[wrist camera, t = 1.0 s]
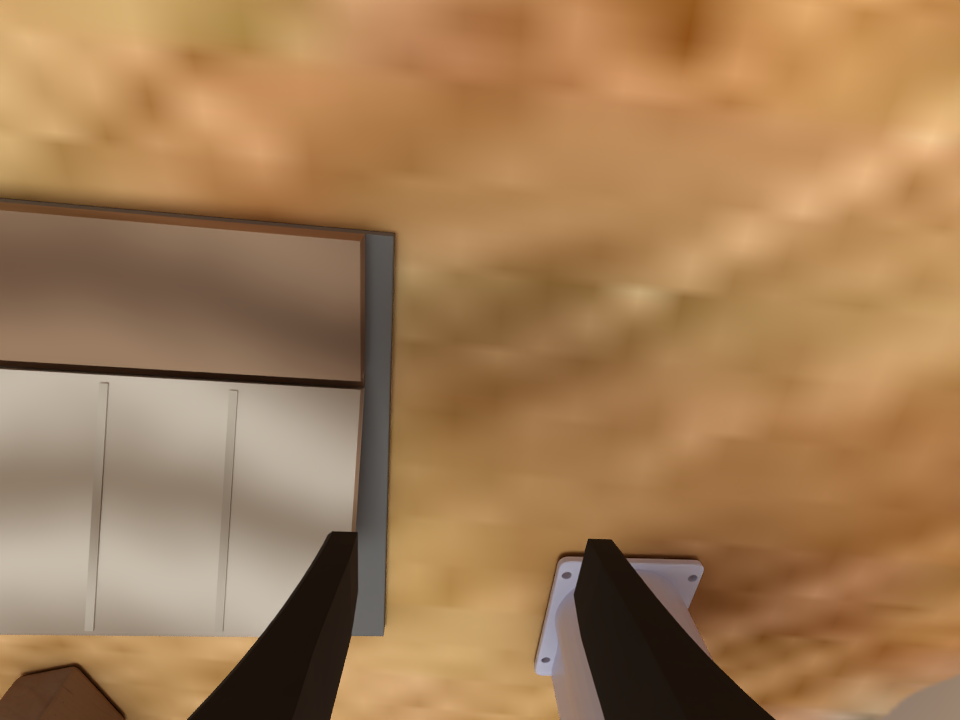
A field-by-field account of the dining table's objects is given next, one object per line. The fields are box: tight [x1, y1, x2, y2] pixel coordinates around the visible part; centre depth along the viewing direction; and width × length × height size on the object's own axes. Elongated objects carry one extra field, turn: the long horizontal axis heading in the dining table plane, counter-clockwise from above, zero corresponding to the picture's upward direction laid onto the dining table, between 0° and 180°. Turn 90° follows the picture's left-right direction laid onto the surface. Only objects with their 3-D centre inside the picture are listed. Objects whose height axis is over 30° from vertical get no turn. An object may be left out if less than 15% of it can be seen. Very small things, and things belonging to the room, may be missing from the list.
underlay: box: [0, 198, 395, 636], centre depth 22 cm, size 22×16×1 cm
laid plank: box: [0, 202, 365, 387], centre depth 18 cm, size 6×14×1 cm, turn 84°
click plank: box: [0, 367, 365, 637], centre depth 19 cm, size 10×14×1 cm
